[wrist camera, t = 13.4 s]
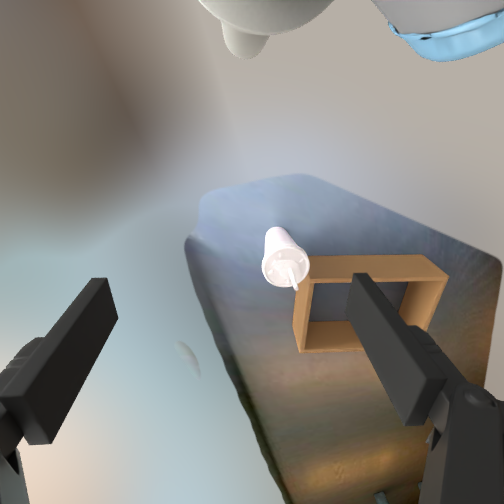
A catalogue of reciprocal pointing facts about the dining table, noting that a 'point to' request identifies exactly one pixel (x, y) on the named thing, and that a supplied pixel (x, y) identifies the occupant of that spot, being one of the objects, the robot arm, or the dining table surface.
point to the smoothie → (284, 259)
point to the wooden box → (380, 270)
